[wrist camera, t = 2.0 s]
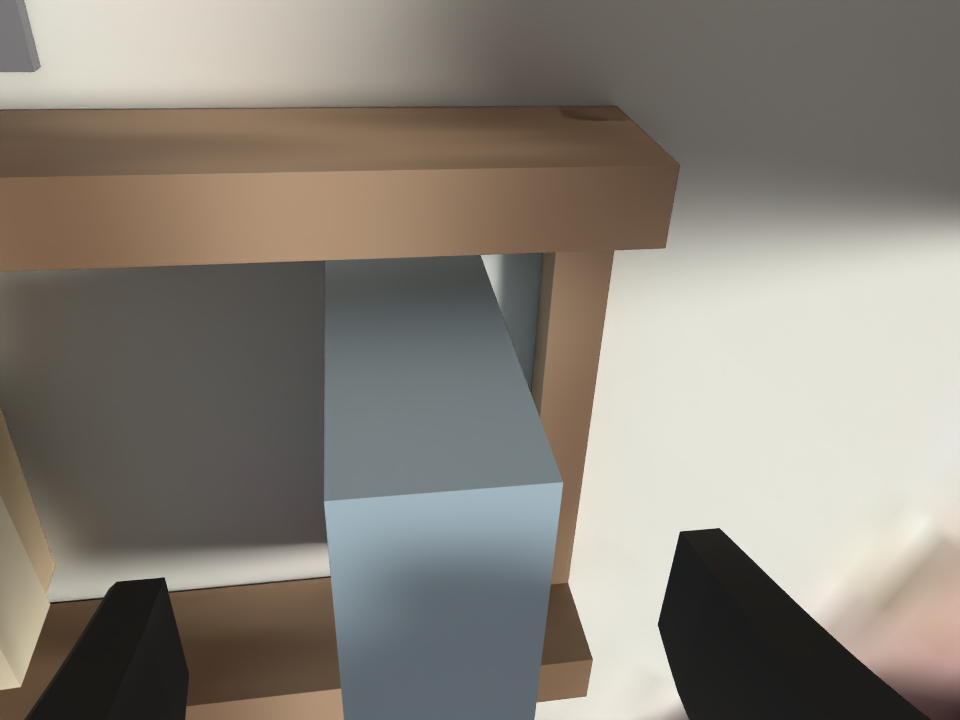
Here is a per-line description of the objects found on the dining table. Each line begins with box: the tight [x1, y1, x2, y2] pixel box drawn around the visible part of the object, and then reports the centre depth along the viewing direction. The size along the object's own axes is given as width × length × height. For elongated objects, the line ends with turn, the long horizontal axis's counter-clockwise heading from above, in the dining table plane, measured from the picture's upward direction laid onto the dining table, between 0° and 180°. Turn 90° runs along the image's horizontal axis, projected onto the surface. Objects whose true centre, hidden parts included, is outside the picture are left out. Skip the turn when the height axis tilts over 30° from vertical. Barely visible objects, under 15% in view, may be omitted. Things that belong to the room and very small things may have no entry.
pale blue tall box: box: [324, 255, 563, 720], centre depth 13 cm, size 2×7×6 cm, turn 178°
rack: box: [0, 106, 680, 720], centre depth 14 cm, size 17×11×3 cm
